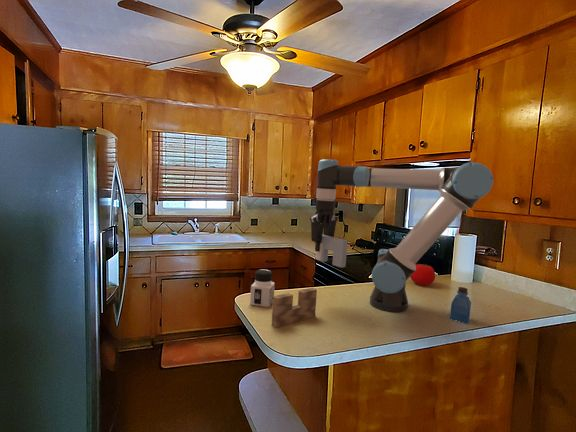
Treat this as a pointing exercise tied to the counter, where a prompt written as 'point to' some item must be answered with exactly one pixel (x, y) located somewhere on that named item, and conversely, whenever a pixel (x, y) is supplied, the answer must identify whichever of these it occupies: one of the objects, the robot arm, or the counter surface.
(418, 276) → the tomato
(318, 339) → the counter surface
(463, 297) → the perfume bottle
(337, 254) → the arch block
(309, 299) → the board
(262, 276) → the container
